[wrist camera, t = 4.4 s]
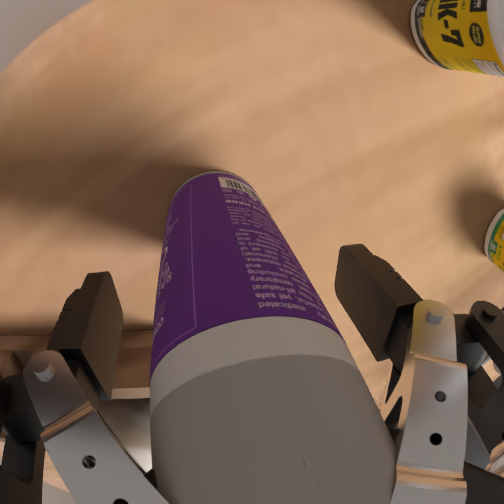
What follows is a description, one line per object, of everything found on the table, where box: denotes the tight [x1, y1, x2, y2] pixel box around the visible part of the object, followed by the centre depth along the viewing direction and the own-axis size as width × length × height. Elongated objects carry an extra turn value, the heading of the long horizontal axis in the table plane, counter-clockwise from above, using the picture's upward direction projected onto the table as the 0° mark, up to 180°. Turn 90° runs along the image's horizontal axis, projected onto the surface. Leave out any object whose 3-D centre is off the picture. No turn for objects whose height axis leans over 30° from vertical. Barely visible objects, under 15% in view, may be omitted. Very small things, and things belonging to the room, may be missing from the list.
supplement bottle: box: [411, 0, 504, 77], centre depth 8 cm, size 5×5×8 cm
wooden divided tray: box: [0, 329, 153, 504], centre depth 14 cm, size 24×10×12 cm, turn 91°
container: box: [149, 171, 395, 504], centre depth 9 cm, size 5×5×15 cm
